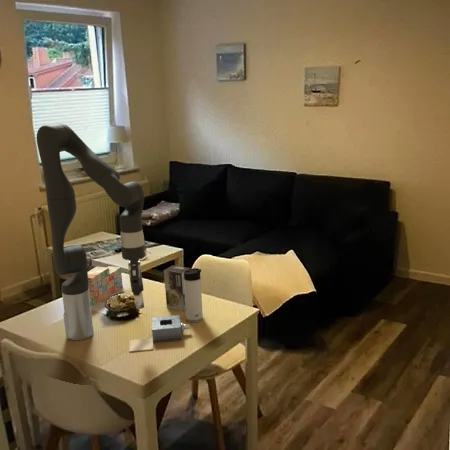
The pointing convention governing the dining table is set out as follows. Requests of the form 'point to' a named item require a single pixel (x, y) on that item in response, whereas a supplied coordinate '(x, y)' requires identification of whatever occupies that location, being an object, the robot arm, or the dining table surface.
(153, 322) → the block
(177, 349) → the dining table surface
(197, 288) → the travel mug
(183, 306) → the coffee box
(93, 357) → the dining table surface
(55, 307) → the dining table surface
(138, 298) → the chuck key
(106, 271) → the stack of blocks
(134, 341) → the cork mat
